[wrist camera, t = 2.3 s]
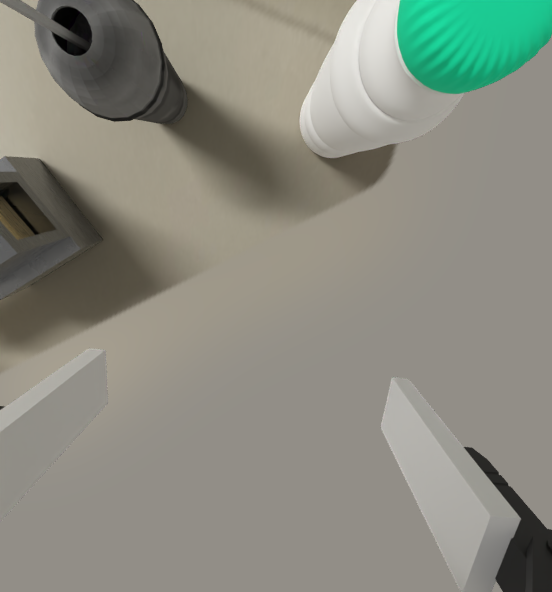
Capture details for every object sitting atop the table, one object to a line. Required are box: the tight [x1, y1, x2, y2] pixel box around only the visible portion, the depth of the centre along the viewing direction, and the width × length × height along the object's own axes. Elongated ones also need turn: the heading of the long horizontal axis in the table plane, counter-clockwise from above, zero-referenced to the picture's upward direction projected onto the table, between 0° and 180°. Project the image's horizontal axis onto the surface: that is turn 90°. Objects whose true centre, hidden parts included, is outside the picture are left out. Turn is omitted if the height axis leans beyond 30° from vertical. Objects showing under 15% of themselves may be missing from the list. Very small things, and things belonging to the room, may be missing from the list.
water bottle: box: [300, 0, 552, 158], centre depth 20 cm, size 7×7×25 cm
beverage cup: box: [0, 0, 187, 124], centre depth 21 cm, size 7×7×20 cm
